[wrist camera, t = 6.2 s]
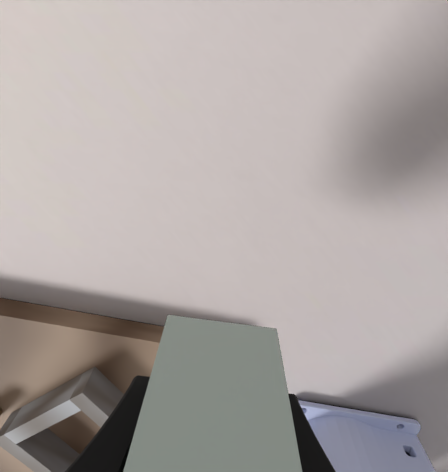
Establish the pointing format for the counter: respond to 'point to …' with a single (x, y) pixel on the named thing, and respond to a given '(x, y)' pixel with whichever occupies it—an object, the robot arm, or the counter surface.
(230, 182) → the counter surface
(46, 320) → the socket plate
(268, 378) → the sage block
